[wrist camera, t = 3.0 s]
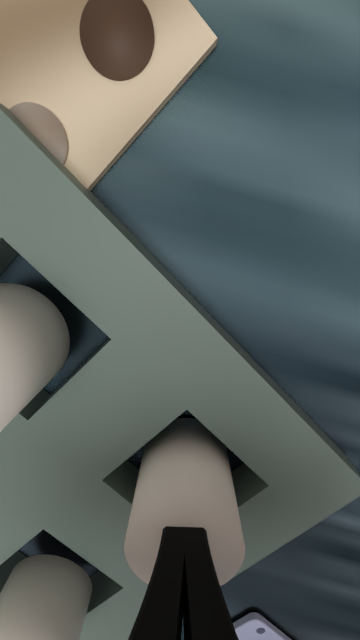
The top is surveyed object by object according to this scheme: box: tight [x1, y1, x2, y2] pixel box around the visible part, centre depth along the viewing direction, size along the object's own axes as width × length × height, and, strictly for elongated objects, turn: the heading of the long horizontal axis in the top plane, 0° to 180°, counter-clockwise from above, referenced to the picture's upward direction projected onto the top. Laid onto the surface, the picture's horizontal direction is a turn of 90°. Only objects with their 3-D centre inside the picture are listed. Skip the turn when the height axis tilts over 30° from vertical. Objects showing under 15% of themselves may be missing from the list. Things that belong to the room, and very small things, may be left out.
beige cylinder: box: [124, 418, 245, 586], centre depth 12 cm, size 4×4×4 cm
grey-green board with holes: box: [0, 103, 360, 640], centre depth 13 cm, size 20×20×2 cm
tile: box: [0, 0, 217, 191], centre depth 10 cm, size 9×9×1 cm
